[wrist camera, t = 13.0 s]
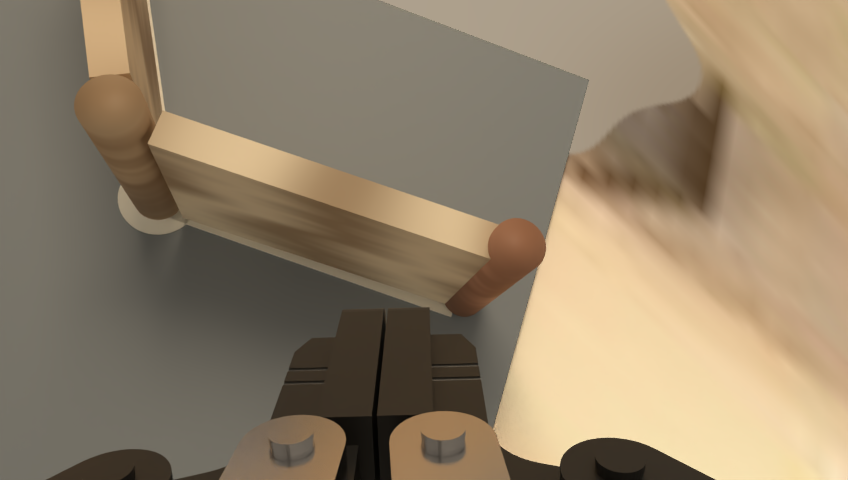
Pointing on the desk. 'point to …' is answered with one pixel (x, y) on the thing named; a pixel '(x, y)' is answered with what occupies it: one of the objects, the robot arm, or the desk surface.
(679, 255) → the desk surface
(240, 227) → the fence swing section
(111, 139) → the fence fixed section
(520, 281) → the board
